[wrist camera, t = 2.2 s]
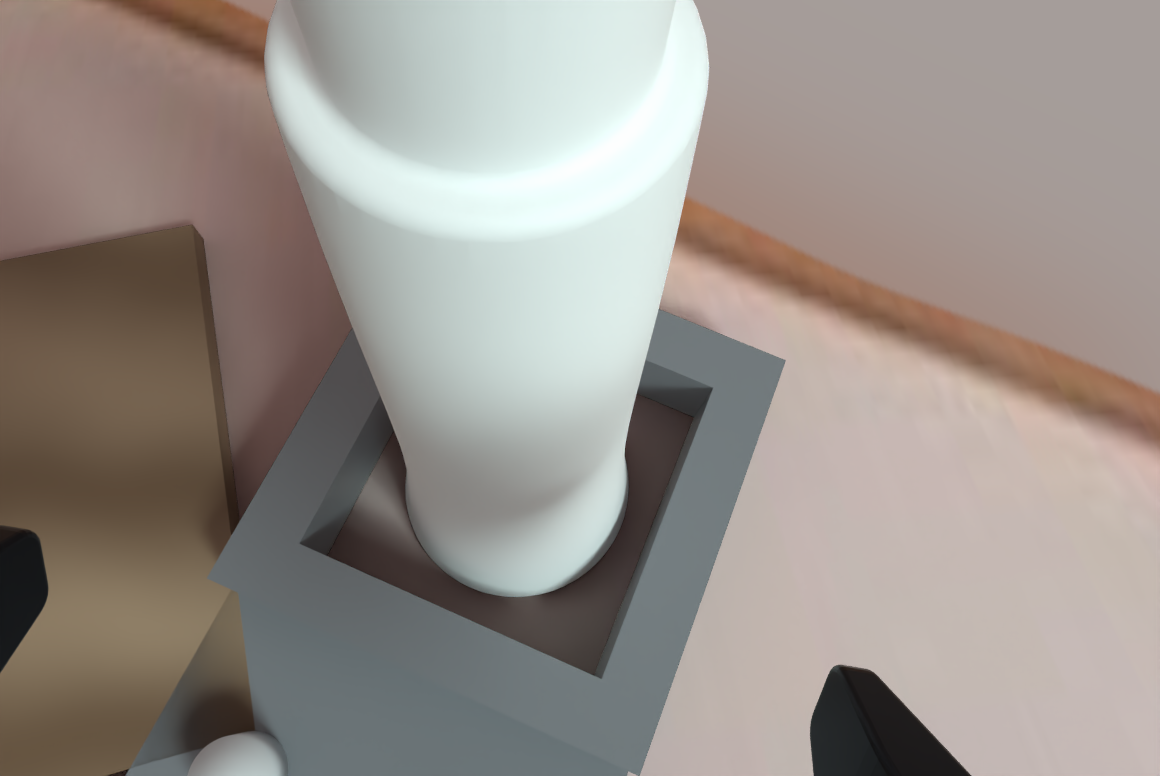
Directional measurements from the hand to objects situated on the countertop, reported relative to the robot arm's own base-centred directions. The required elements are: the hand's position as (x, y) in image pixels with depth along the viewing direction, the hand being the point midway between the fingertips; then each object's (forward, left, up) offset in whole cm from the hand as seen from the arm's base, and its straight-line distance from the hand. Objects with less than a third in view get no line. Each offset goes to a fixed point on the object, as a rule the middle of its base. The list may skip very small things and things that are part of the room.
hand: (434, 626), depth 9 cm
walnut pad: (-8, +11, -12) cm, 18 cm away
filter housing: (0, +1, -12) cm, 12 cm away
